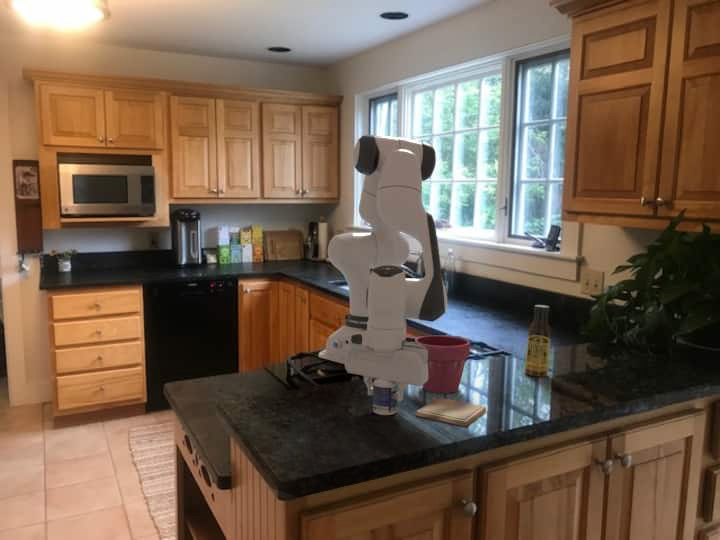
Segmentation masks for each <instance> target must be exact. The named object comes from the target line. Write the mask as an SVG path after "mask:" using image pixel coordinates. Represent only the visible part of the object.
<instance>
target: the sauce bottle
mask: <svg viewBox="0 0 720 540" xmlns="http://www.w3.org/2000/svg"><path fill="white" fill-rule="evenodd" d="M533 308H534V309H533V311H534V316H533V321H532V323H530V325H529V327H528V336H527V344H526V354H525V366H524V367H525V370H524V372H525V374H526V375H529V376H531V377H539V378H540V377H541V378H544V377H546V376H547V375H548V371H549V361H550V360H549V359H550V351H551V350H550V349H551V334H552V328H551V327H550V324H549V313H550V306H548V305H544V304H535V305H534V307H533Z"/></svg>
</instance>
